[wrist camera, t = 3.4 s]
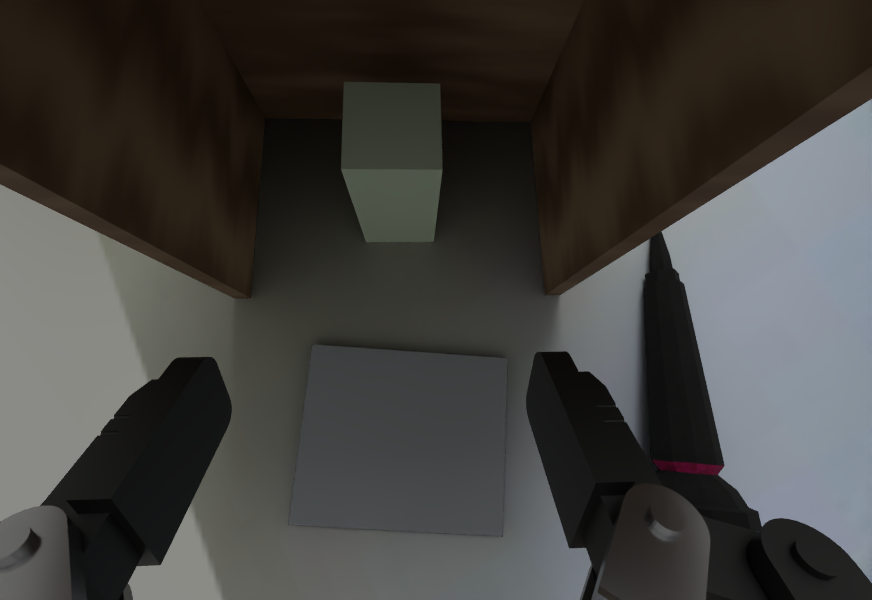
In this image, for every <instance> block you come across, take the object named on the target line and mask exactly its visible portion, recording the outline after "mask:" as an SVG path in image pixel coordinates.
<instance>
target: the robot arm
mask: <svg viewBox="0 0 872 600" xmlns="http://www.w3.org/2000/svg"><path fill="white" fill-rule="evenodd" d="M526 407H527V414H528V419H529V422H530V425H531V428H532V431H533V435H534V438H535V441H536V444H537V447H538V450H539V454H540V457H541V460H542V463H543V466H544V470H545V473H546V476H547V479H548V482H549V485H550V489H551V492H552V495H553V498H554V501H555V504H556V508H557V511H558V514H559V517H560V520H561V524H562V527H563V530H564V533H565V536H566V539H567V543H568V546H569V548H586V549H587V551H588V554H589V557H590V560H591V563H592V564H591V566H590V569H589V572H588V575H587V578H586V581H585V585H584V588H583V591H582V594H581V597H580V600H872V583H871V582H870V580H869V579H868V578H867V577H866V576H865V574H864V573H863V572H862V571H861V569H860V568H859V567H858V566H857V564H856V563H855V562H854V561H853V560H852V559H851V557H850V556H849V555H848V554H847V553H846V552H845V551H844V550H843V549H842V548H841V547H840V546H838V545H837V544H836V543H835V542H834V541H832V540H831V539H830V538H828V537H827V536H825V535H824V534H822V533H821V532H819V531H817V530H816V529H814V528H812V527H810V526H808V525H806V524H803V523H800V522H798V521H794V520H790V519H783V518H779V519H773V520H770V521H768V522H767V523H765V524H764V526H763V527H762V528H761V529H760V530H759V531H754V530H750V529H747V528H743V527H739V526H736V525H732V524H728V523H725V522H721V521H717V520H714V519H711V518H708V517H705V516H702V515H700V513H699V512H698V511H697V509H696V508H695V507H694V506H693V505H692V504H691V503H690V502H689V501H687V500H686V499H685V498H684V497H682V496H681V495H680V494H678V493H676V492H675V491H673V490H671V489H669V488H666V487H664V486H663V485H662V483H661V482H660V480H659V479H658V477H657V475H656V473H655V472H654V470H653V468H652V466H651V465H650V463H649V461H648V459H647V458H646V456H645V454H644V452H643V451H642V449H641V447H640V445H639V444H638V442H637V440H636V438H635V437H634V435H633V433H632V431H631V430H630V428H629V426H628V424H627V423H626V422H624V417H623V416H622V414H621V412H620V411H619V409H618V407H616V404H615V402H614V400H613V398H612V397H611V395H610V393H609V391H608V390H607V388H606V386H605V385H604V384H602V383H601V382H600V381H599V380H598V379H597V378H596V377H595V376H593V375H592V374H591V373H590V372H578V370H577V368H576V366H575V364H574V362H573V360H572V358H571V356H570V354H569V353H568V352H537V353H536V354H535V357H534V361H533V366H532V371H531V376H530V381H529V386H528V390H527V397H526ZM231 412H232V406H231V400H230V397H229V394H228V392H227V389H226V386H225V384H224V381H223V378H222V376H221V373H220V370H219V368H218V365H217V362H216V361H215V359H214V358H212V357H182V358H176V359H174V360H173V361H172V362H171V363H170V365H169V366H168V367H167V369H166V370H165V371H164V373H163V374H162V375H161V377H160V378H159V379H157V380H151V381H149V382H148V383H147V384H145V385H144V386H143V387H141V388H140V389H139V390H137V391H136V392H135V393H133V394H132V395H131V396H129V397H128V399H127V400H126V401H125V402H124V404H123V405H122V406H121V408H120V409H119V410H118V411H117V412H116V414H115V415H114V419H111V420H110V421H109V422H108V423H107V425H106V426H105V427H104V428H103V430H102V431H101V435H100V436H97V437H96V438H95V439H94V441H93V442H92V443H91V444H90V446H89V447H88V448H87V449H86V450H85V452H84V453H83V454H82V455H81V457H80V458H79V459H78V460H77V462H76V463H75V464H74V465H73V467H72V468H71V469H70V470H69V471H68V473H67V474H66V475H65V476H64V478H63V479H62V480H61V481H60V483H59V484H58V485H57V486H56V487H55V489H54V490H53V491H52V492H51V494H50V495H49V496H48V497H47V499H46V500H45V501H44V502H43V503H42V504H41V505H40V506H38V507H33V508H30V509H27V510H23V511H21V512H19V513H16V514H14V515H12V516H10V517H8V518H6V519H4V520H3V521H1V522H0V600H133V597H132V592H131V588H130V586H129V584H128V582H129V579H130V578H131V576H132V574H133V572H134V570H135V568H136V566H148V565H161V563H162V561H163V559H164V557H165V555H166V553H167V551H168V549H169V547H170V545H171V543H172V541H173V538H174V536H175V534H176V532H177V530H178V528H179V526H180V524H181V522H182V520H183V518H184V516H185V514H186V512H187V510H188V508H189V506H190V504H191V502H192V499H193V497H194V495H195V493H196V491H197V489H198V487H199V485H200V483H201V481H202V479H203V477H204V475H205V473H206V471H207V469H208V467H209V464H210V462H211V460H212V458H213V456H214V454H215V452H216V450H217V448H218V446H219V444H220V442H221V440H222V438H223V436H224V434H225V432H226V430H227V427H228V425H229V422H230V419H231Z"/></svg>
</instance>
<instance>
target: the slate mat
mask: <svg viewBox="0 0 872 600" xmlns="http://www.w3.org/2000/svg"><path fill="white" fill-rule="evenodd" d="M506 395H507V358H497V357H483V356H469V355H455V354H441V353H427V352H413V351H398V350H384V349H370V348H356V347H342V346H328V345H314V344H312V350H311V357H310V364H309V372H308V379H307V387H306V394H305V402H304V409H303V416H302V424H301V431H300V439H299V446H298V454H297V461H296V468H295V476H294V483H293V491H292V498H291V506H290V513H289V520H288V525H297V526H316V527H334V528H353V529H371V530H390V531H408V532H427V533H445V534H464V535H482V536H501V537H503V511H504V472H505V434H506Z"/></svg>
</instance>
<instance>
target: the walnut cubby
mask: <svg viewBox="0 0 872 600" xmlns="http://www.w3.org/2000/svg"><path fill="white" fill-rule="evenodd" d="M344 82H381V83H435V84H440V98H441V121H487V122H531V132H532V145H533V157H534V169H535V181H536V193H537V205H538V217H539V229H540V241H541V253H542V265H543V277H544V289H545V295H561V294H562V293H564V292H566V291H567V290H569V289H570V288H572V287H574V286H575V285H577V284H578V283H580V282H581V281H583V280H585V279H586V278H588V277H589V276H591V275H593V274H594V273H596V272H597V271H599V270H600V269H602V268H604V267H605V266H607V265H608V264H610V263H612V262H613V261H615V260H616V259H618V258H620V257H621V256H623V255H624V254H626V253H627V252H629V251H631V250H632V249H634V248H635V247H637V246H639V245H640V244H642V243H643V242H645V241H647V240H648V239H650V238H651V237H653V236H654V235H656V234H658V233H659V232H661V231H662V230H664V229H666V228H667V227H669V226H670V225H672V224H674V223H675V222H677V221H678V220H680V219H681V218H683V217H685V216H686V215H688V214H689V213H691V212H693V211H694V210H696V209H697V208H699V207H700V206H702V205H704V204H705V203H707V202H708V201H710V200H712V199H713V198H715V197H716V196H718V195H720V194H721V193H723V192H724V191H726V190H727V189H729V188H731V187H732V186H734V185H735V184H737V183H739V182H740V181H742V180H743V179H745V178H747V177H748V176H750V175H751V174H753V173H754V172H756V171H758V170H759V169H761V168H762V167H764V166H766V165H767V164H769V163H770V162H772V161H773V160H775V159H777V158H778V157H780V156H781V155H783V154H785V153H786V152H788V151H789V150H791V149H793V148H794V147H796V146H797V145H799V144H800V143H802V142H804V141H805V140H807V139H808V138H810V137H812V136H813V135H815V134H816V133H818V132H820V131H821V130H823V129H824V128H826V127H827V126H829V125H831V124H832V123H834V122H835V121H837V120H839V119H840V118H842V117H843V116H845V115H847V114H848V113H850V112H851V111H853V110H854V109H856V108H858V107H859V106H861V105H862V104H864V103H866V102H867V101H869V100H870V99H872V0H0V184H1V185H3V186H5V187H7V188H9V189H11V190H13V191H15V192H17V193H19V194H22V195H23V196H26V197H28V198H30V199H32V200H34V201H36V202H38V203H40V204H42V205H44V206H46V207H48V208H50V209H52V210H54V211H56V212H58V213H60V214H62V215H65V216H67V217H69V218H71V219H73V220H75V221H77V222H79V223H81V224H83V225H85V226H87V227H89V228H91V229H93V230H95V231H97V232H99V233H102V234H104V235H106V236H108V237H110V238H112V239H114V240H116V241H118V242H120V243H122V244H124V245H126V246H128V247H130V248H132V249H134V250H136V251H138V252H141V253H143V254H145V255H147V256H149V257H151V258H153V259H155V260H157V261H159V262H161V263H163V264H165V265H167V266H169V267H171V268H173V269H175V270H177V271H180V272H182V273H184V274H186V275H188V276H190V277H192V278H194V279H196V280H198V281H200V282H202V283H204V284H206V285H208V286H210V287H212V288H214V289H217V290H219V291H221V292H223V293H225V294H227V295H229V296H231V297H233V298H250V297H251V285H252V273H253V260H254V248H255V236H256V224H257V211H258V199H259V187H260V175H261V163H262V150H263V138H264V126H265V118H293V119H343V92H344Z"/></svg>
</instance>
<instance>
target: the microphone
mask: <svg viewBox="0 0 872 600" xmlns="http://www.w3.org/2000/svg"><path fill="white" fill-rule="evenodd" d="M645 279H646V286H645V288H644V308H645V330H646V353H647V376H648V398H649V421H650V444H651V460H652V461H653V463H654V464H655V465H656V466H657V467H658V469H659V470H658V471H657V472H656V475H657V477H658V479H659V480H660V482H661V483H662V485H663V486H664V487H666V488H669V489H671V490H673V491H675V492H676V493H678V494H680V495H681V496H682V497H684V498H685V499H686V500H687V501H689V502H690V503H691V504H692V505H693V506H694V507H695V508H696V509H697V511H698V512H699V513H700V515H702V516H705V517H708V518H711V519H714V520H717V521H721V522H725V523H728V524H732V525H736V526H739V527H743V528H747V529H750V530H754V531H759V530H760V529H761V528H762V526H761V522H760V518H759V514H758V511H756V510H753V509H751V508H749V507H748V506H747V504H746V503H745V501H744V500H743V498H742V497H741V495H740V494H739V492H738V491H737V490H736V489H735V488H733V487H732V486H731V485H730V484H728V483H727V482H726V481H725V480H723V479H722V478H721V477H719V476H718V474H719V472H720V471H721V470H722V468H723V467H724V461H723V457H722V452H721V448H720V443H719V439H718V434H717V430H716V426H715V421H714V417H713V412H712V408H711V403H710V399H709V394H708V390H707V385H706V381H705V376H704V372H703V367H702V363H701V358H700V354H699V349H698V345H697V340H696V336H695V331H694V327H693V322H692V318H691V314H690V309H689V305H688V300H687V296H686V291H685V287H684V284H683V283H682V282H680V279H679V274H678V272H677V271H676V270H675V269H673V268H672V263H671V259H670V255H669V252H668V249H667V246H666V243H665V240H664V238H663V235H662V232H659V233H658V234H656V235H654V236H653V237H651V249H650V273H648V274H646V275H645Z"/></svg>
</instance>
